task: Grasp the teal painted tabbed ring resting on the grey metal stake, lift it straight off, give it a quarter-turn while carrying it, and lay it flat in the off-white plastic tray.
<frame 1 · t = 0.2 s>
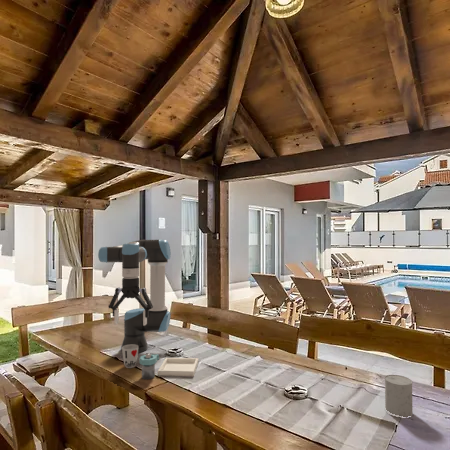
hand: (130, 324, 161), 27 cm above the table, fingers open, 13 cm apart
cup: (130, 366, 183), on the table
grey cylinder: (398, 412, 135), on the table
tray: (179, 369, 178), on the table
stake: (148, 376, 169), on the table
ring: (148, 362, 169), point 7 cm above the table, touching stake
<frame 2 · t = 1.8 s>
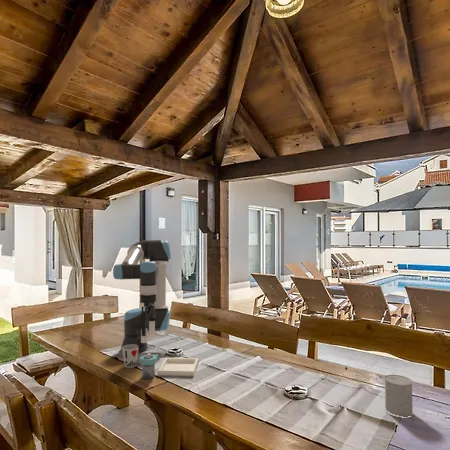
hand: (148, 338, 169), 18 cm above the table, fingers open, 13 cm apart
nothing on the table moved.
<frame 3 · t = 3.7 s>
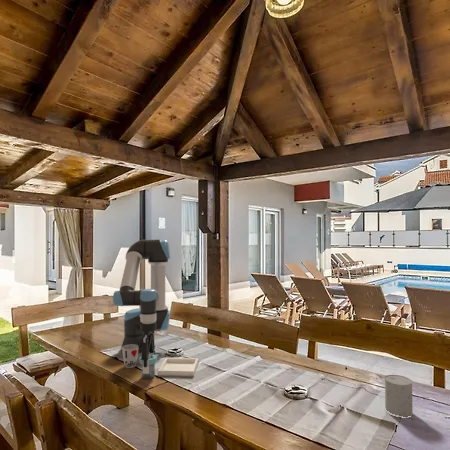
hand: (148, 369, 169), 3 cm above the table, fingers closed on ring, 8 cm apart
ring: (148, 362, 169), point 7 cm above the table, touching gripper, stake
everything else where it was.
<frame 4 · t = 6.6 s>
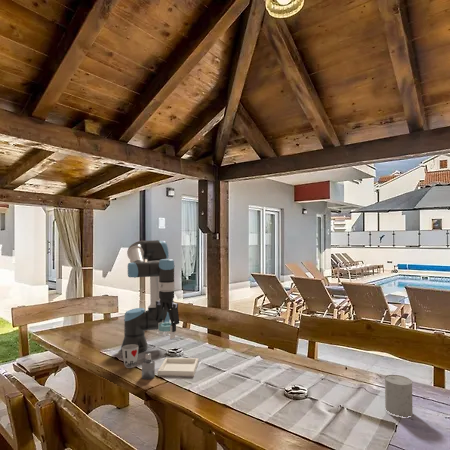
hand: (166, 336, 175), 18 cm above the table, fingers closed on ring, 8 cm apart
ring: (166, 329, 175), point 21 cm above the table, touching gripper
everything else where it was.
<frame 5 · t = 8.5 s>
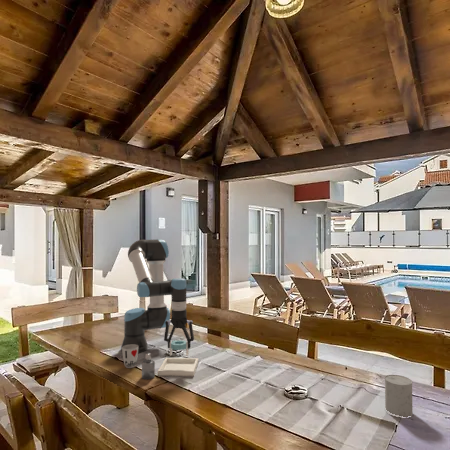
hand: (179, 354, 178), 7 cm above the table, fingers closed on ring, 8 cm apart
ring: (179, 347, 178), point 11 cm above the table, touching gripper
everything else where it was.
when the fingers open (2 cm above the table, at t = 9.8 s): ring drops 5 cm, resting on tray.
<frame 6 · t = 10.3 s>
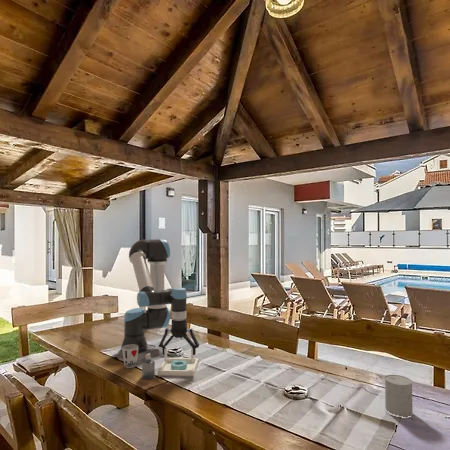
hand: (179, 361, 178), 4 cm above the table, fingers open, 13 cm apart
ring: (179, 368, 178), point 1 cm above the table, touching tray
everything else where it was.
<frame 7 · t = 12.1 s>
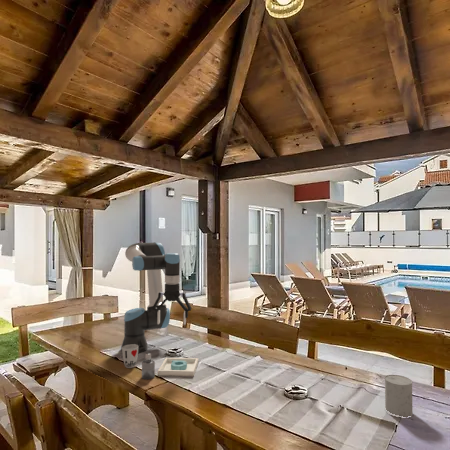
hand: (171, 323, 184), 22 cm above the table, fingers open, 13 cm apart
nothing on the table moved.
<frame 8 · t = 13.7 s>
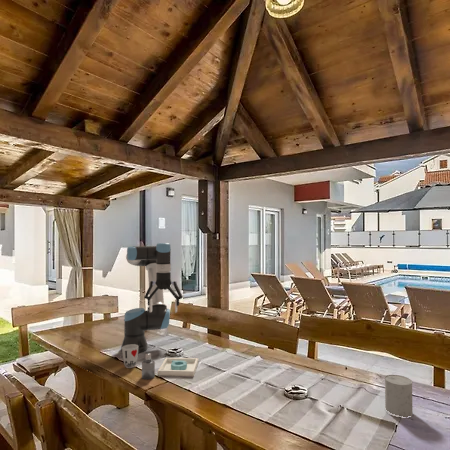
hand: (163, 311, 188), 27 cm above the table, fingers open, 13 cm apart
nothing on the table moved.
at the end: ring inside the target area on the tray (0.0 cm from its centre), point 0.6 cm above the tray's base; ring tilted 0°; ring touching tray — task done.
